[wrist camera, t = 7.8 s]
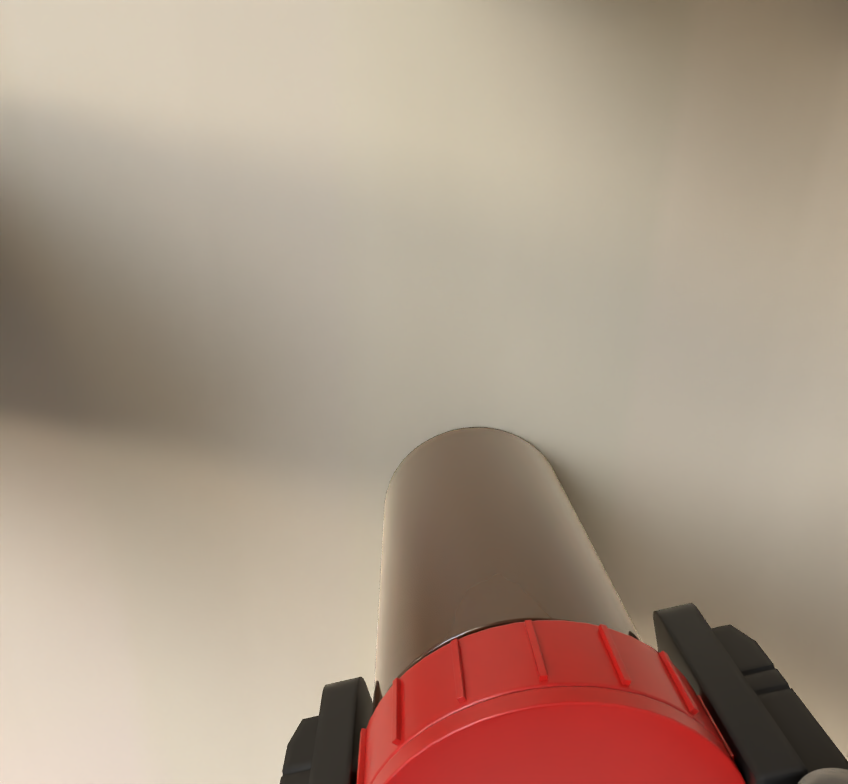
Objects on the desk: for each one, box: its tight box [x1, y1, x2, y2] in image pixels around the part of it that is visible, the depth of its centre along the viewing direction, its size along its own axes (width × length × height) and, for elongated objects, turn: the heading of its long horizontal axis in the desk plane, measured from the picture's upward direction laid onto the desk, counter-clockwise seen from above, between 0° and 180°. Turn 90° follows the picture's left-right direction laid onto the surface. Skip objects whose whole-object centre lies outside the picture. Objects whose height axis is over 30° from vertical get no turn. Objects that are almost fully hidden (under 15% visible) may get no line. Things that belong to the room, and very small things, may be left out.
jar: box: [373, 427, 642, 713], centre depth 14 cm, size 5×5×9 cm
